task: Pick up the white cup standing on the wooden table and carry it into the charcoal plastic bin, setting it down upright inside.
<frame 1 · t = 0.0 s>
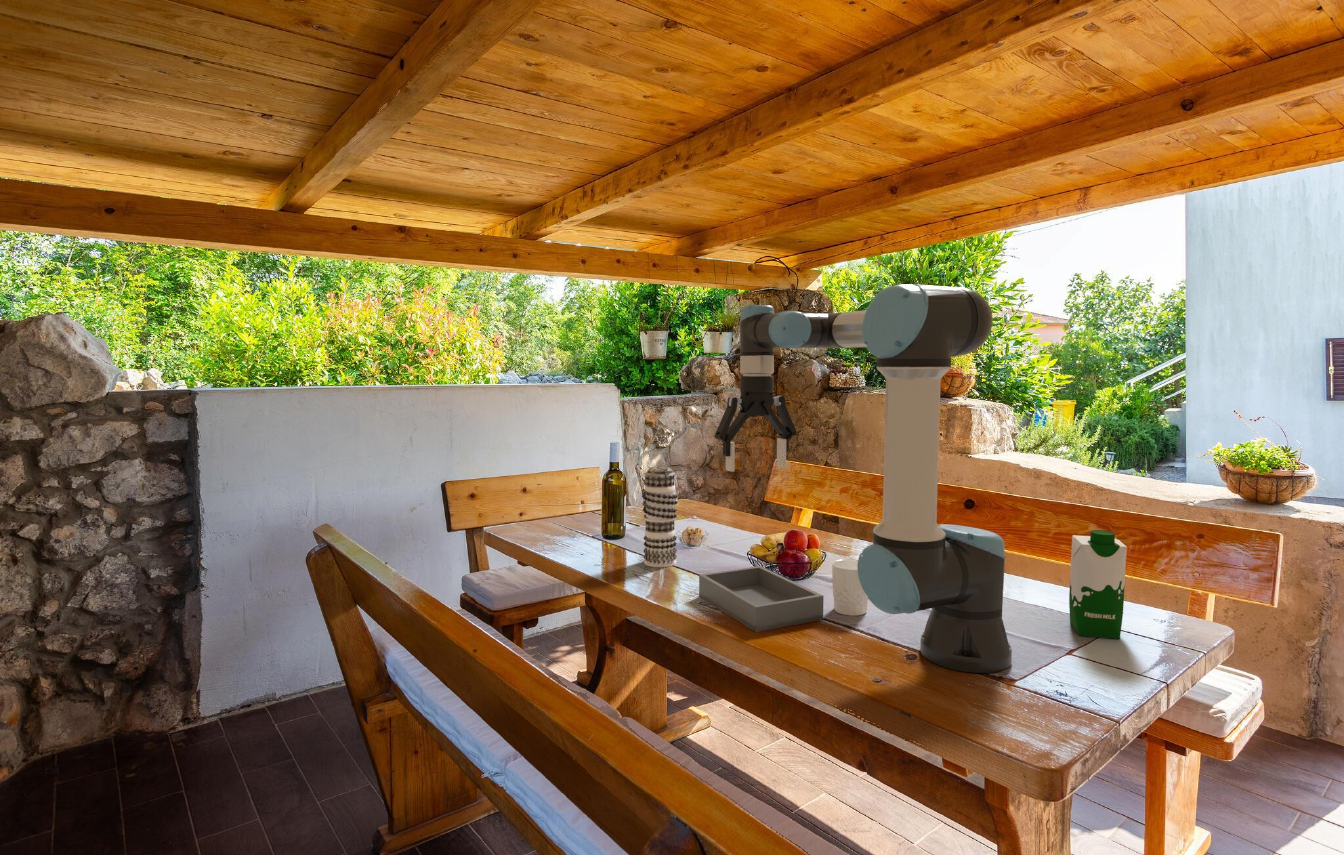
hand: (756, 468, 168), 28 cm above the table, tool pointing down, fingers open, 13 cm apart
decorative candle: (660, 563, 193), on the table
milk carton: (1094, 632, 143), on the table
white cup: (850, 611, 156), on the table
bin: (758, 607, 158), on the table
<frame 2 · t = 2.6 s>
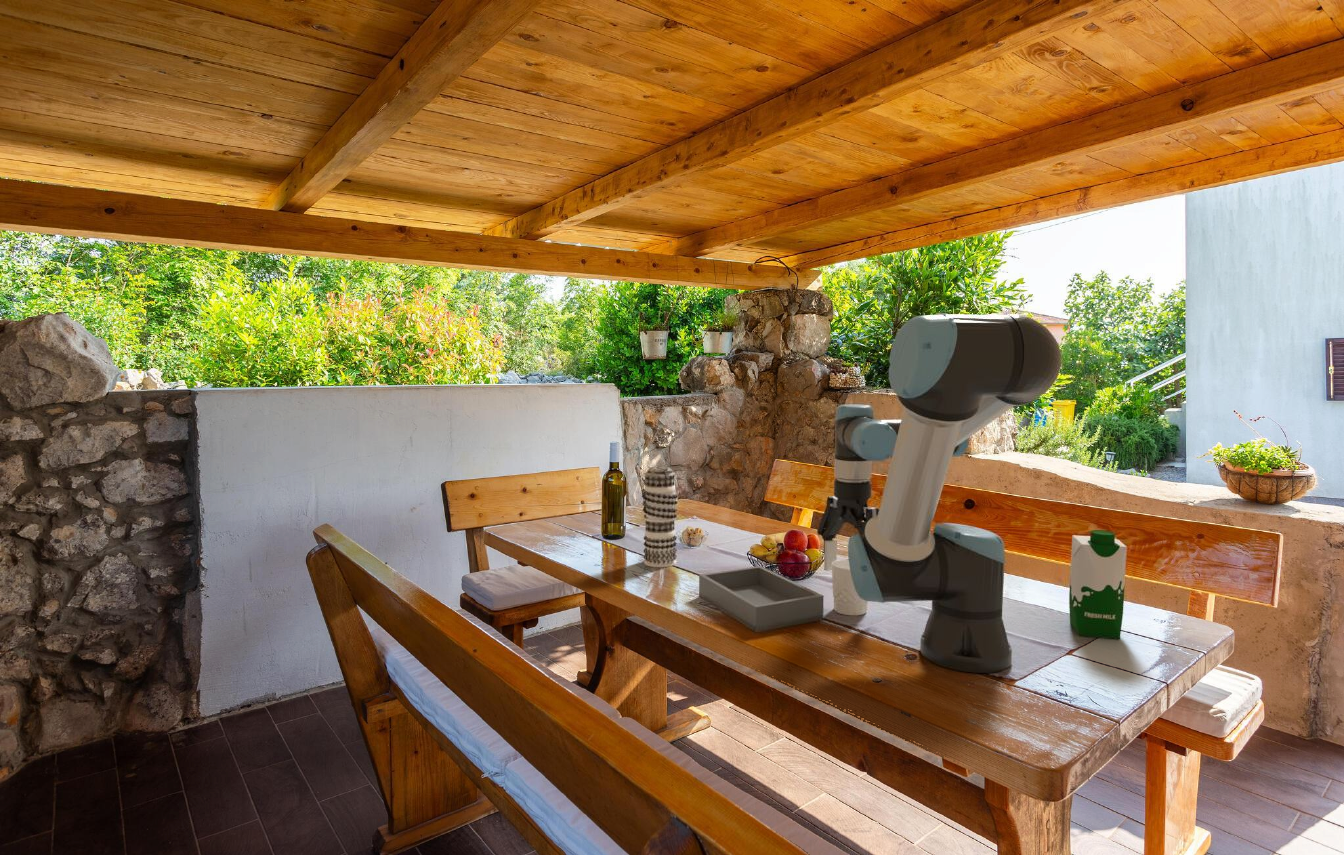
hand: (850, 578, 155), 7 cm above the table, tool pointing down, fingers open, 13 cm apart
nothing on the table moved.
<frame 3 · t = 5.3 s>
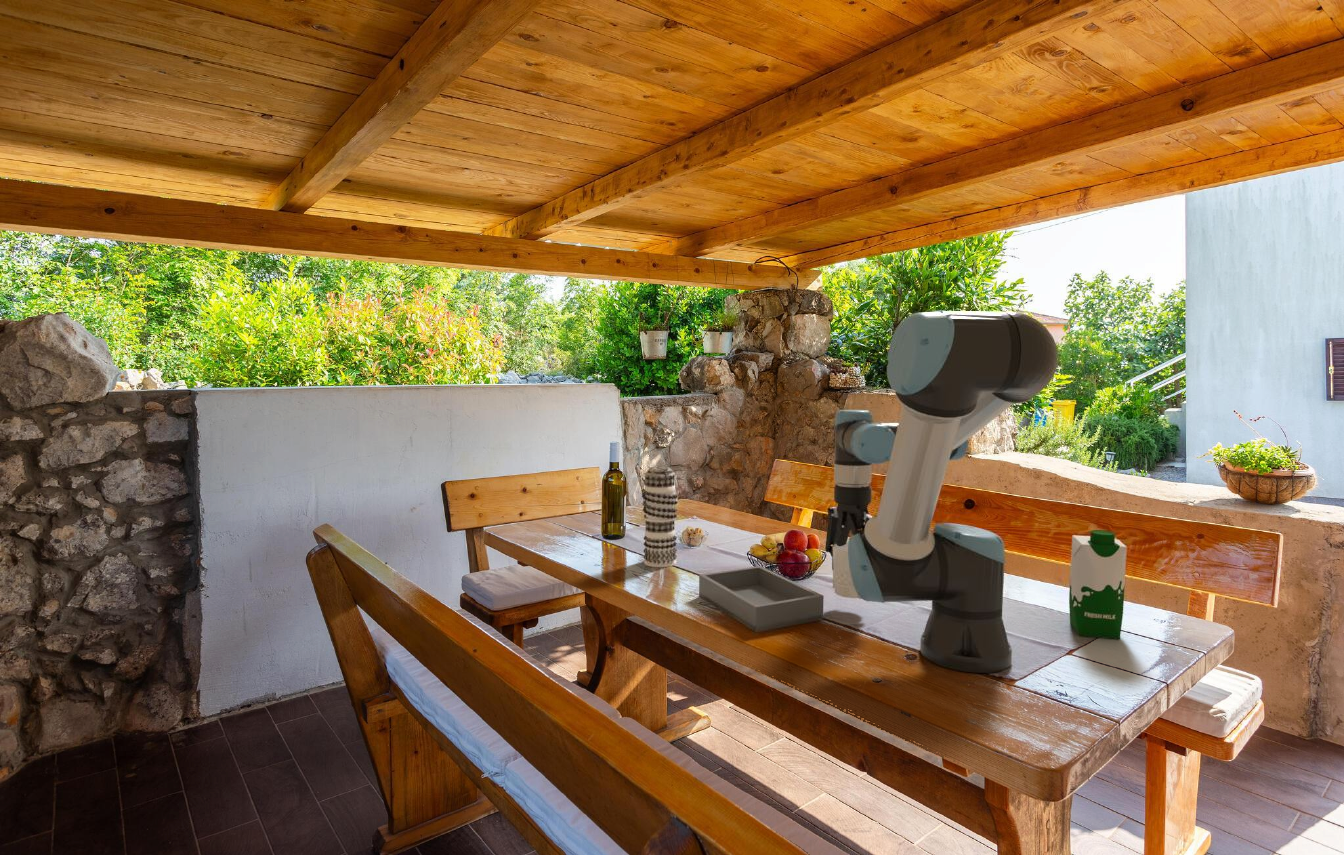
hand: (851, 592, 155), 4 cm above the table, tool pointing down, fingers closed on white cup, 7 cm apart
white cup: (851, 594, 155), point 4 cm above the table, touching gripper
everything else where it was.
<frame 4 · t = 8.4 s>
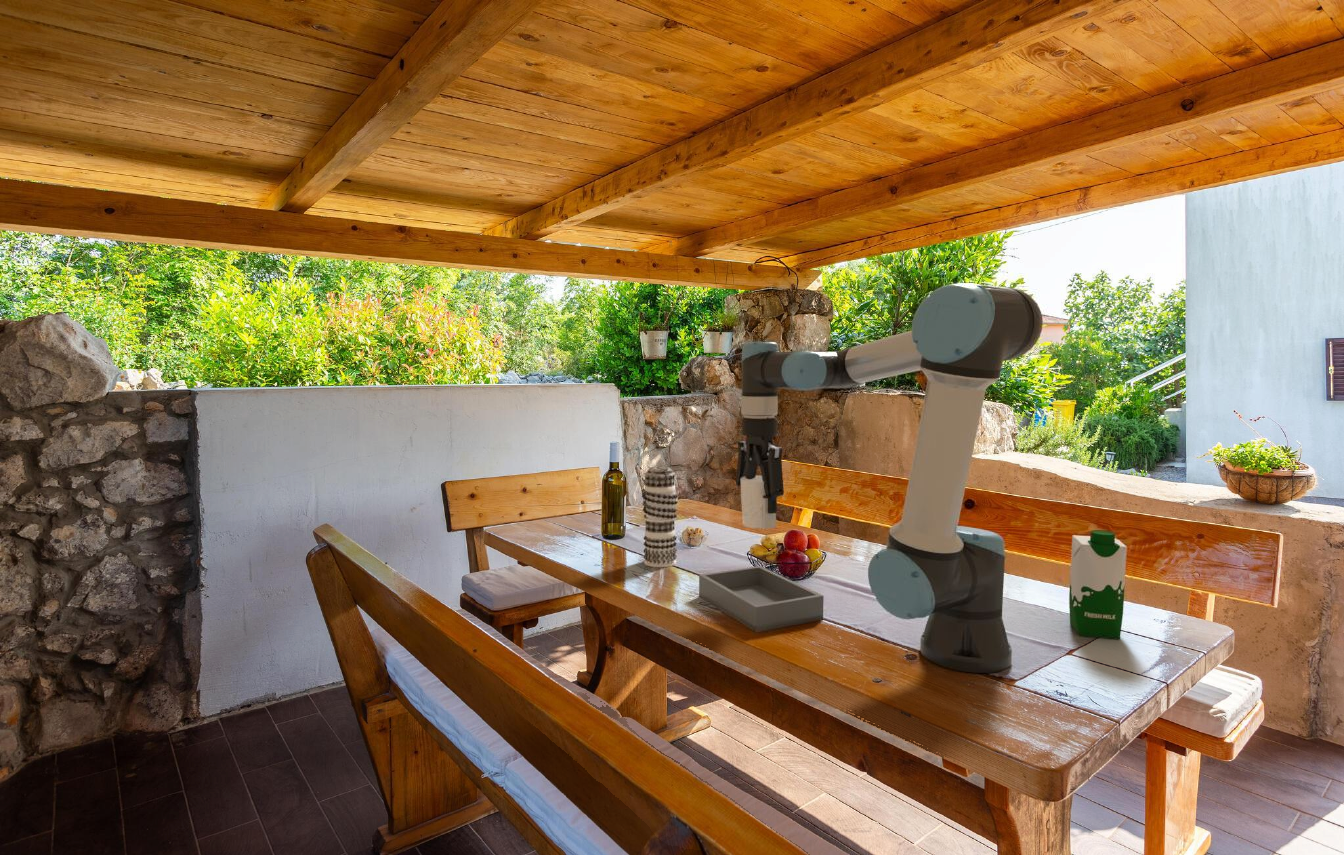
hand: (758, 524, 156), 18 cm above the table, tool pointing down, fingers closed on white cup, 7 cm apart
white cup: (758, 526, 156), point 18 cm above the table, touching gripper
everything else where it was.
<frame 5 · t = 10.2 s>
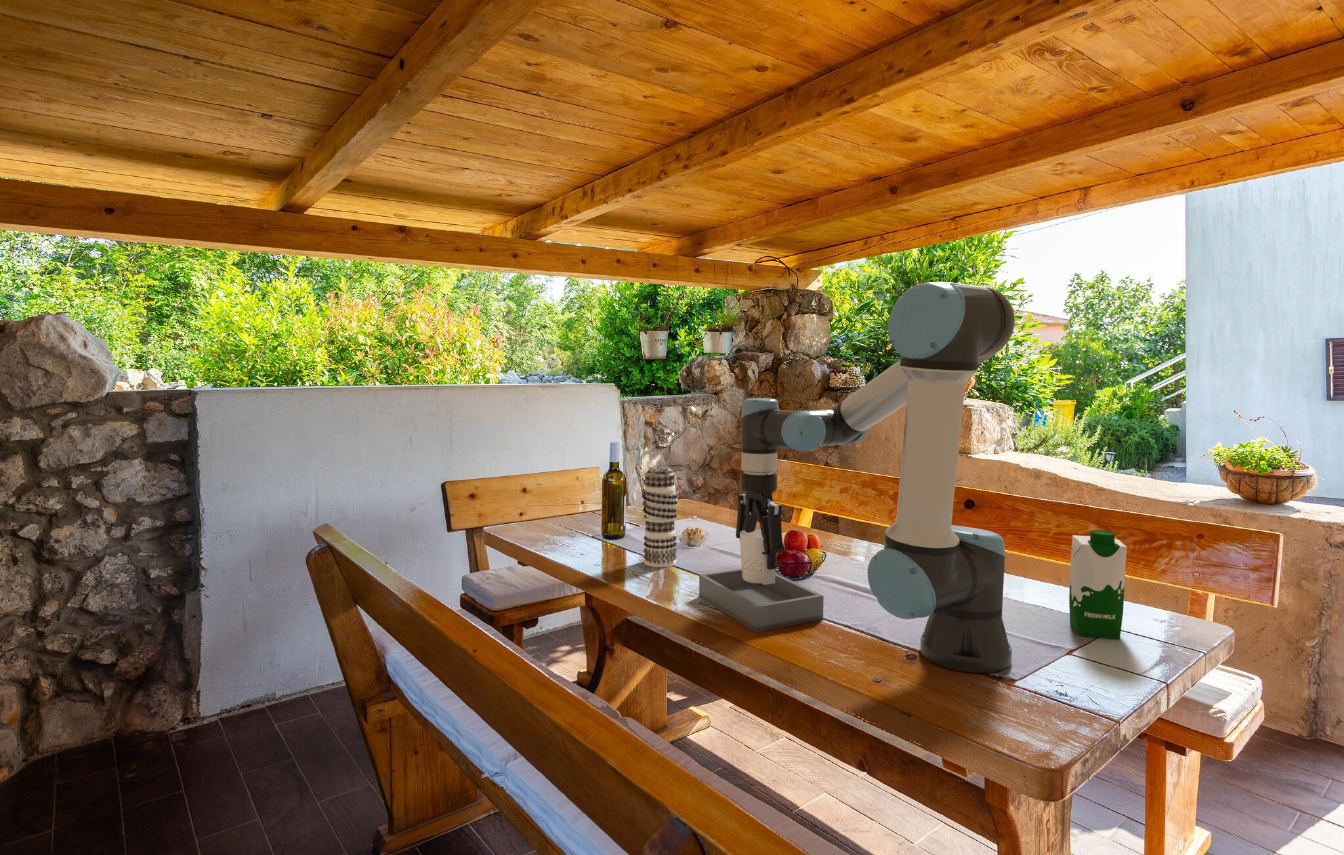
hand: (758, 577, 157), 6 cm above the table, tool pointing down, fingers closed on white cup, 7 cm apart
white cup: (758, 579, 157), point 6 cm above the table, touching gripper
everything else where it was.
when the fingers open (3 cm above the table, at t = 11.9 s): white cup drops 1 cm, resting on bin.
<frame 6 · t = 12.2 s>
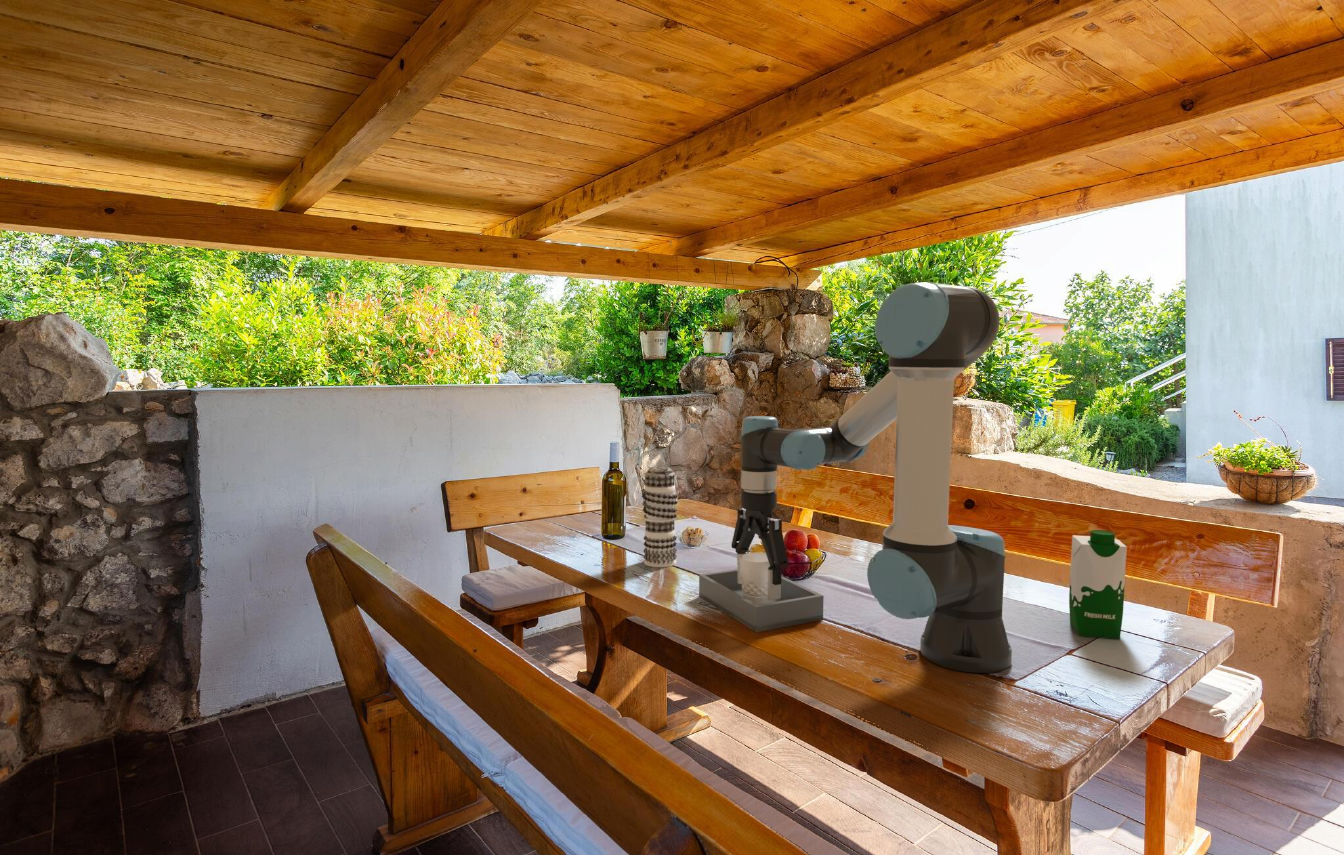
hand: (758, 590, 157), 4 cm above the table, tool pointing down, fingers open, 11 cm apart
white cup: (758, 604, 157), point 1 cm above the table, touching bin
everything else where it was.
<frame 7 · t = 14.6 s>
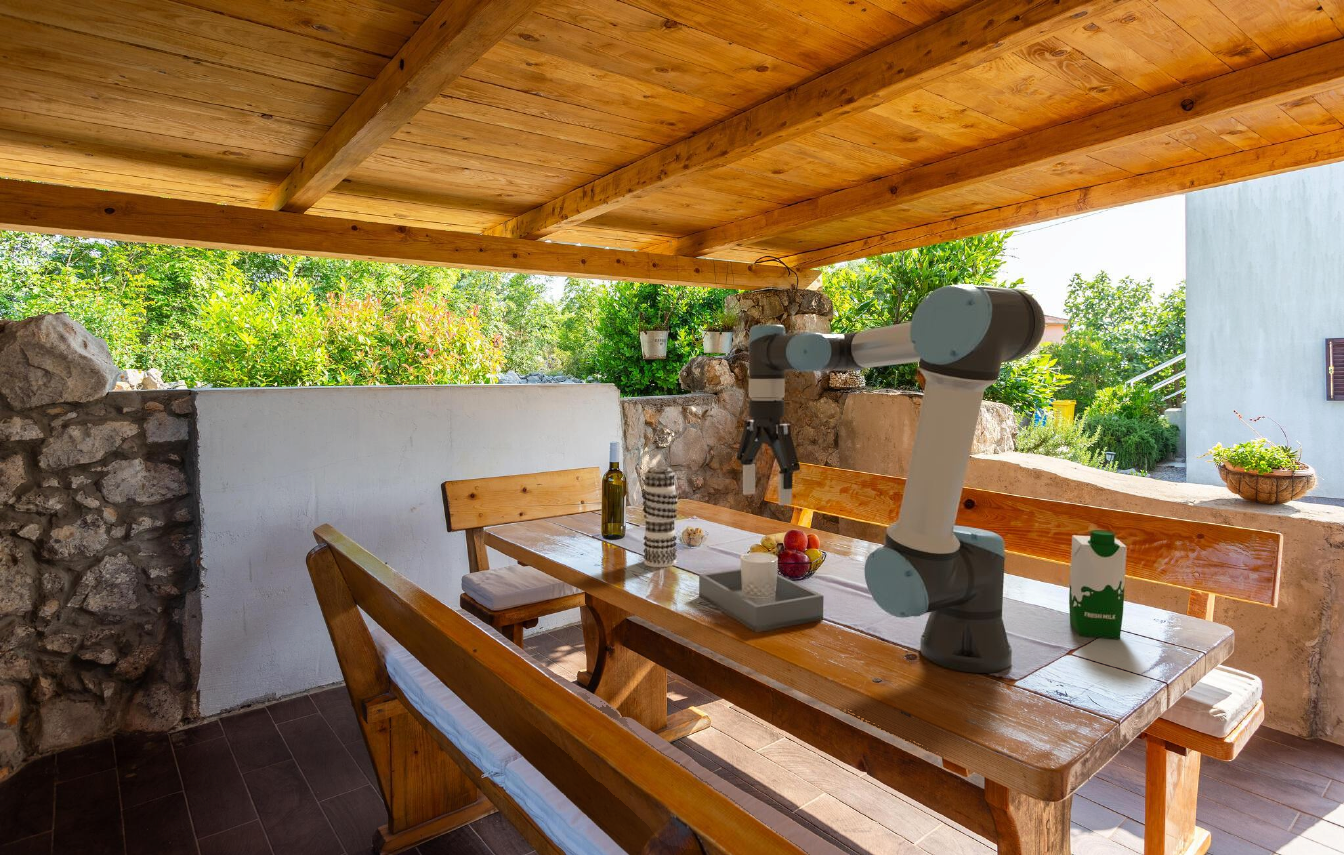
hand: (766, 499, 157), 23 cm above the table, tool pointing down, fingers open, 13 cm apart
nothing on the table moved.
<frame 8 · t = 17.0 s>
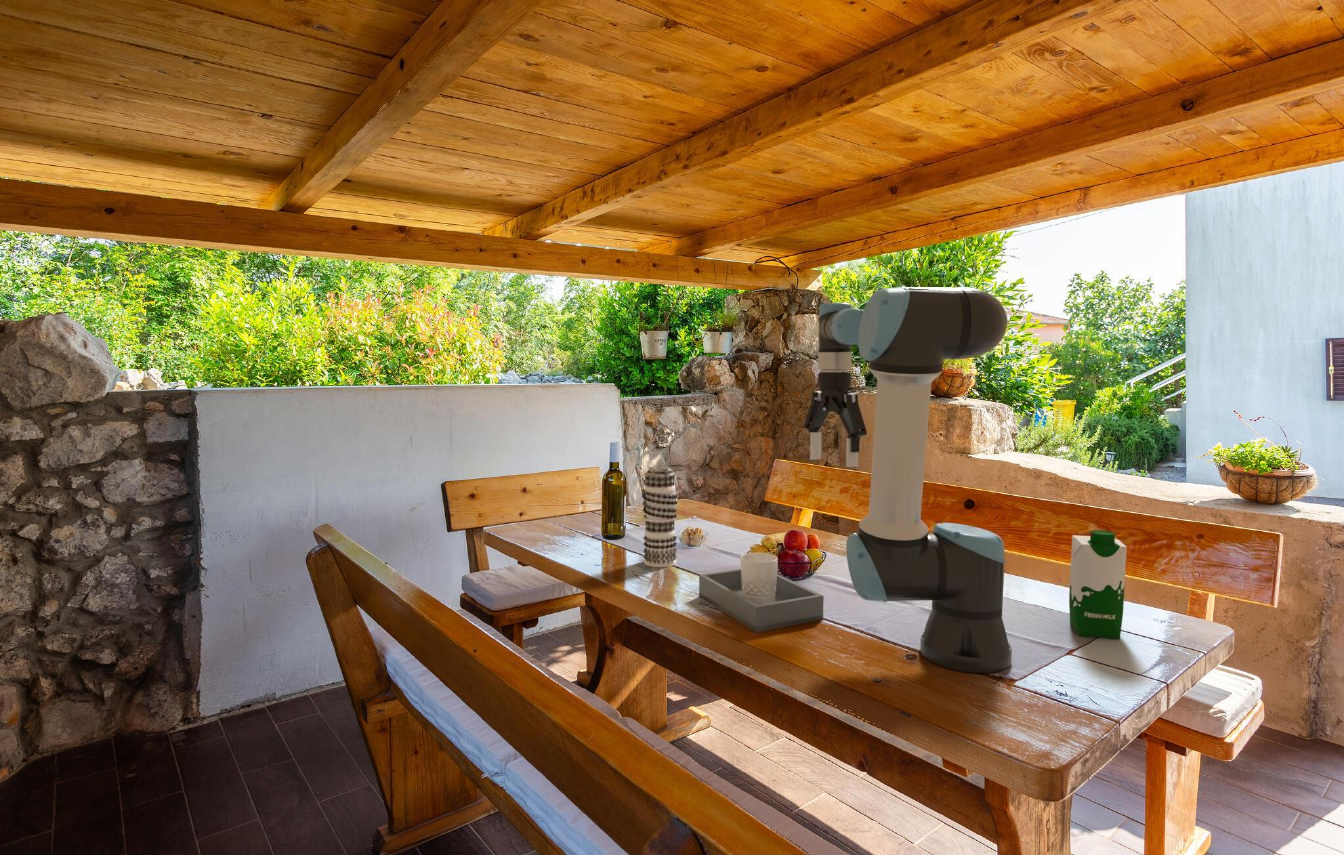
hand: (833, 463, 172), 29 cm above the table, tool pointing down, fingers open, 13 cm apart
nothing on the table moved.
at the end: white cup inside the target area on the bin (0.2 cm from its centre), point 0.8 cm above the bin's base; white cup tilted 0°; the gripper is holding nothing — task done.
